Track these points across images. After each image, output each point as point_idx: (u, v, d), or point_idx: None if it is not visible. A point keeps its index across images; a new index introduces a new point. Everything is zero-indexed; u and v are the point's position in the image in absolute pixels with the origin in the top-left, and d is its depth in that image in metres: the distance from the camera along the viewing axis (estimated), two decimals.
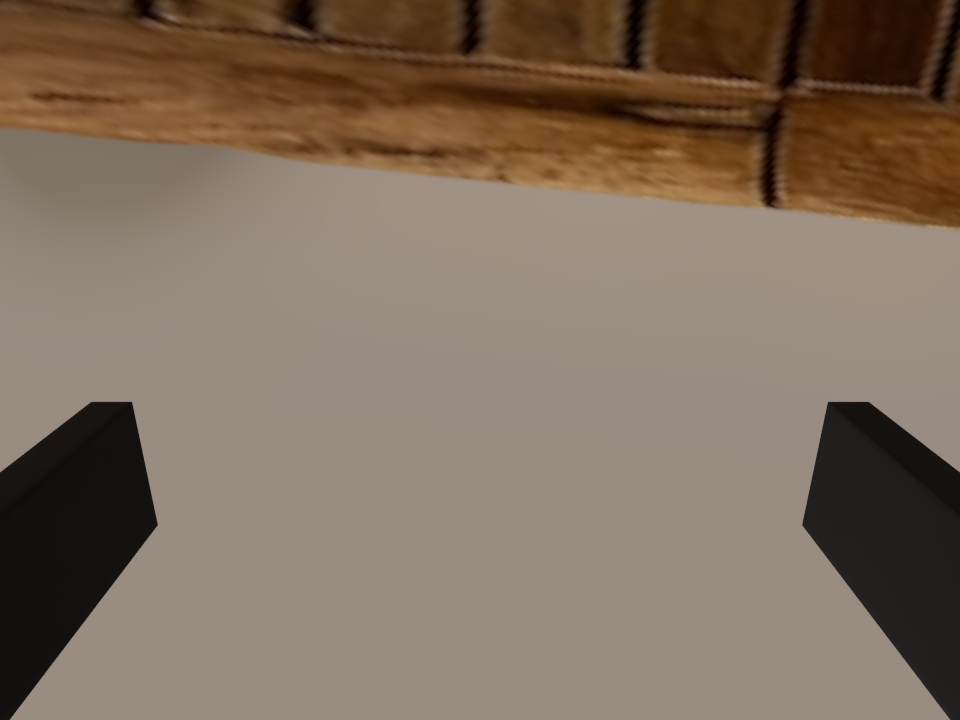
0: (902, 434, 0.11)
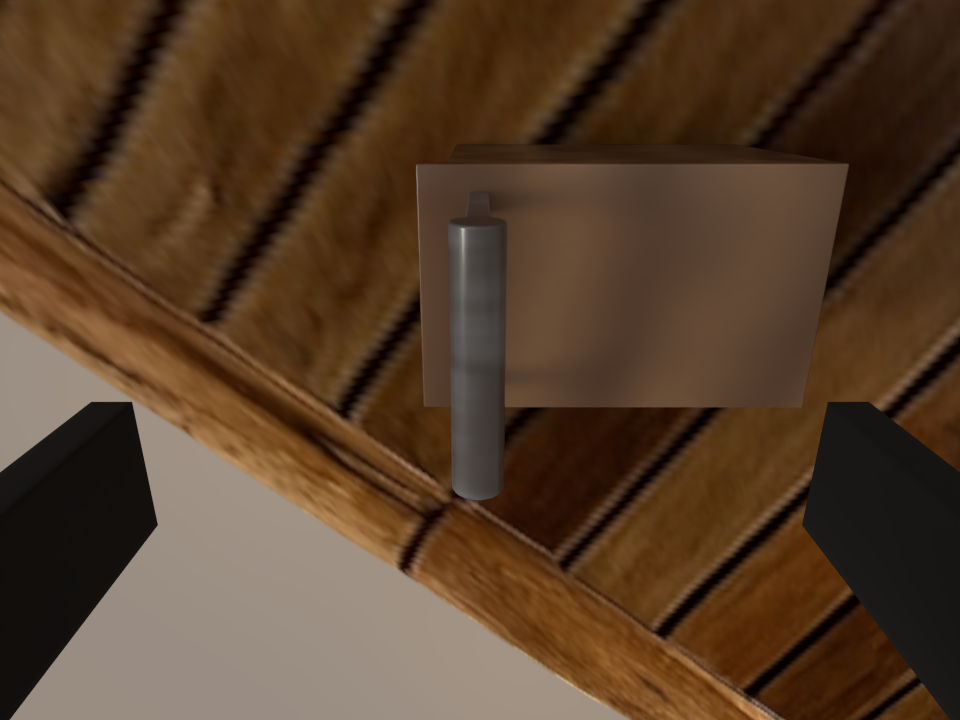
0: (902, 434, 0.11)
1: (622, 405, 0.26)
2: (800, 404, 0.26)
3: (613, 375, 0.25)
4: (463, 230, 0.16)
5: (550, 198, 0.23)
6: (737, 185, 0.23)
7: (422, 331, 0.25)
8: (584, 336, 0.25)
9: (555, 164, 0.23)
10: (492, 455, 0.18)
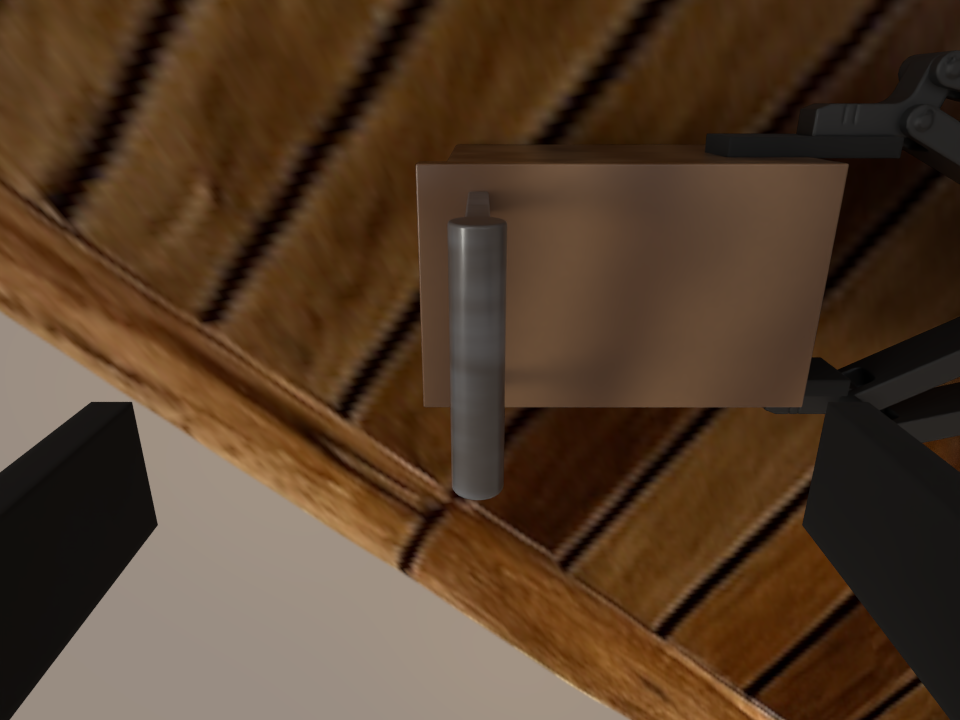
0: (902, 434, 0.11)
1: (622, 405, 0.26)
2: (800, 404, 0.26)
3: (613, 375, 0.25)
4: (463, 230, 0.16)
5: (550, 198, 0.23)
6: (737, 185, 0.23)
7: (422, 331, 0.25)
8: (584, 336, 0.25)
9: (555, 164, 0.23)
10: (492, 455, 0.18)
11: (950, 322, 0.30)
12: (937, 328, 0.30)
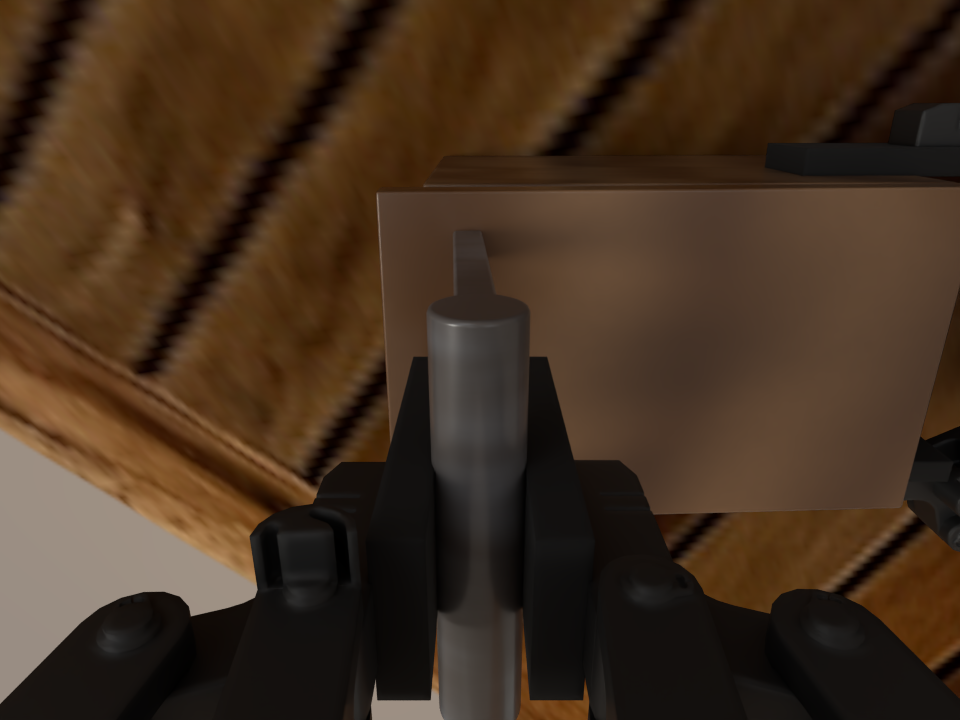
0: (546, 379, 0.13)
1: (664, 512, 0.19)
2: (899, 504, 0.19)
3: (653, 474, 0.19)
4: (455, 329, 0.09)
5: (569, 238, 0.16)
6: (831, 218, 0.16)
7: (390, 422, 0.18)
8: (615, 424, 0.18)
9: (577, 191, 0.16)
10: (505, 673, 0.11)
11: None
12: None
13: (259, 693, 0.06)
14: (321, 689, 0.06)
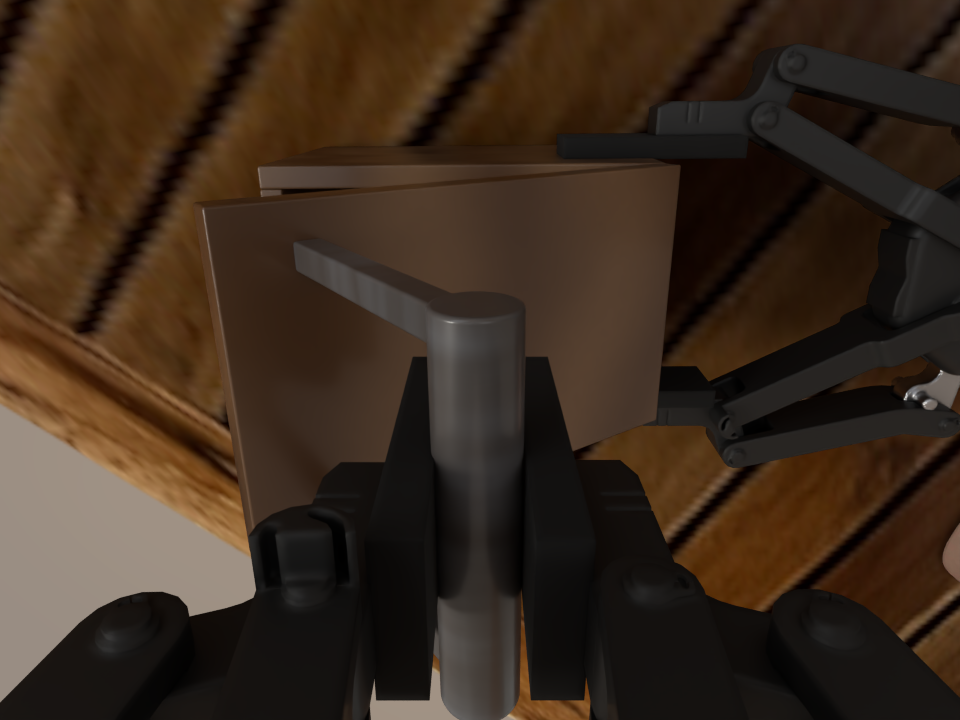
0: (547, 379, 0.13)
1: None
2: (654, 417, 0.25)
3: None
4: (481, 327, 0.09)
5: (404, 236, 0.16)
6: (595, 197, 0.20)
7: (244, 461, 0.16)
8: None
9: (406, 190, 0.16)
10: (517, 647, 0.12)
11: (828, 329, 0.29)
12: (815, 335, 0.29)
13: (258, 693, 0.06)
14: (320, 689, 0.06)
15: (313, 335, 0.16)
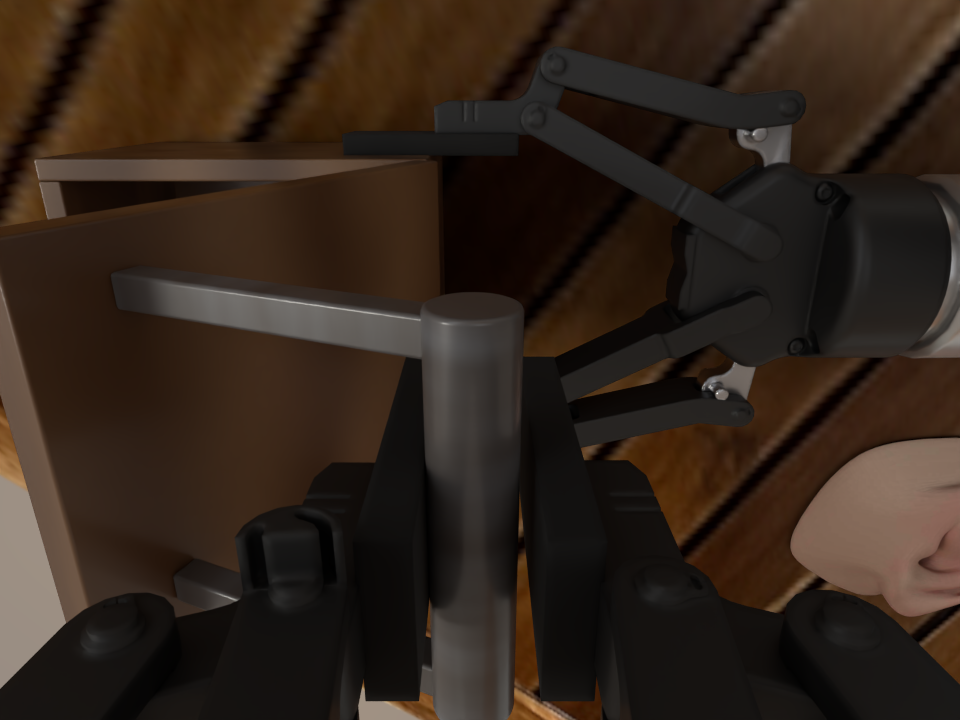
0: (554, 380, 0.13)
1: None
2: None
3: (325, 465, 0.19)
4: (505, 325, 0.09)
5: (225, 253, 0.14)
6: (381, 196, 0.20)
7: (80, 566, 0.12)
8: (293, 434, 0.17)
9: (222, 199, 0.14)
10: None
11: (632, 322, 0.30)
12: (620, 328, 0.30)
13: (245, 695, 0.06)
14: (307, 689, 0.06)
15: (144, 385, 0.13)
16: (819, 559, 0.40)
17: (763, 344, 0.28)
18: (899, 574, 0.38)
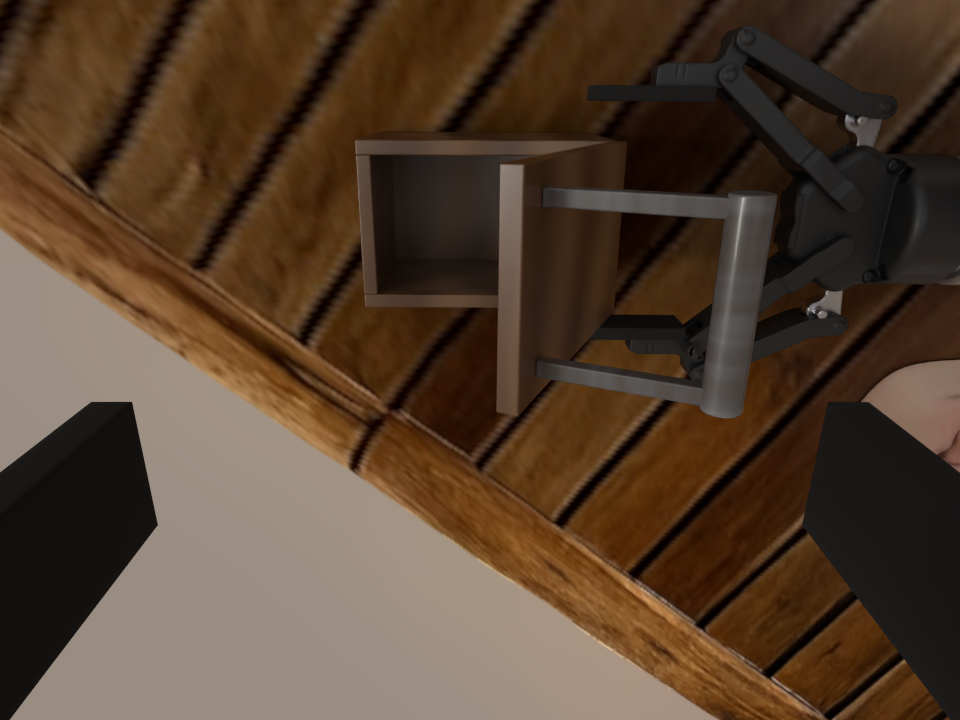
0: (902, 434, 0.11)
1: (577, 349, 0.31)
2: (613, 310, 0.37)
3: (576, 327, 0.31)
4: (773, 199, 0.21)
5: (566, 185, 0.26)
6: (608, 161, 0.31)
7: (519, 338, 0.24)
8: (570, 301, 0.29)
9: (568, 155, 0.26)
10: None
11: None
12: None
13: None
14: None
15: (542, 250, 0.25)
16: None
17: (845, 273, 0.39)
18: None
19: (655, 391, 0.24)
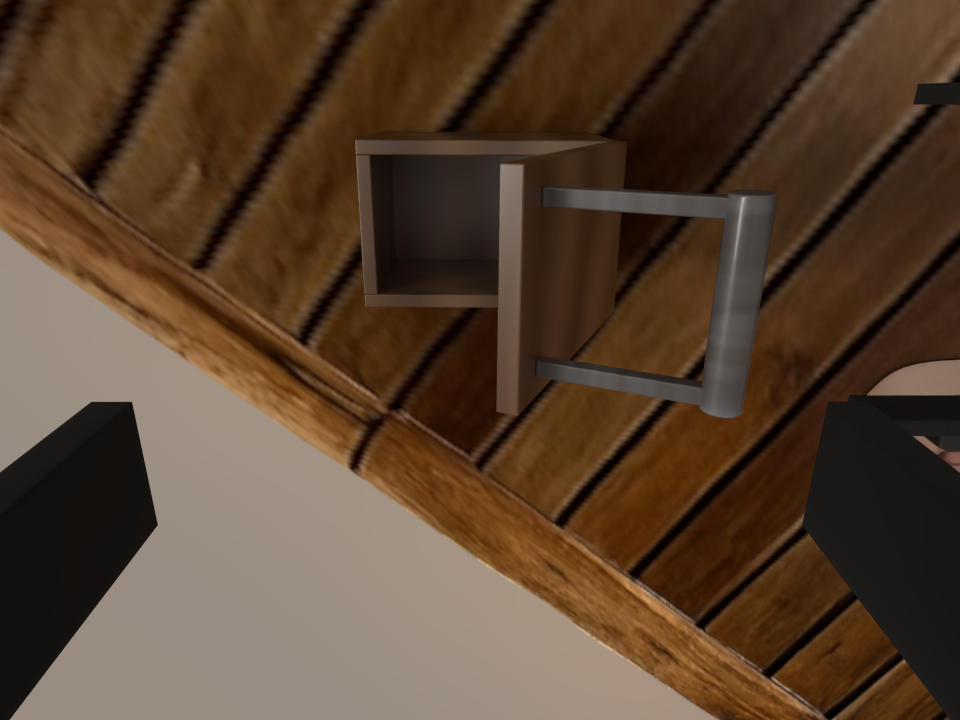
0: (902, 434, 0.11)
1: (577, 349, 0.31)
2: (613, 310, 0.37)
3: (576, 326, 0.31)
4: (773, 199, 0.21)
5: (566, 184, 0.26)
6: (608, 161, 0.31)
7: (519, 337, 0.24)
8: (570, 300, 0.29)
9: (568, 155, 0.26)
10: None
11: None
12: None
13: None
14: None
15: (542, 250, 0.25)
16: None
17: None
18: None
19: (655, 390, 0.24)
